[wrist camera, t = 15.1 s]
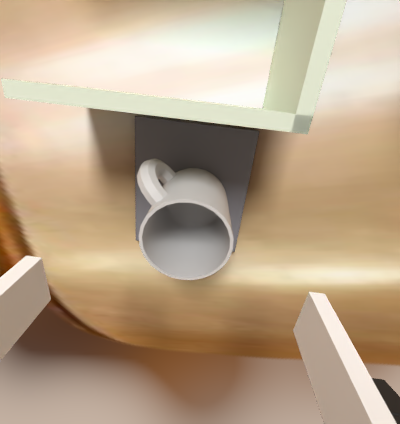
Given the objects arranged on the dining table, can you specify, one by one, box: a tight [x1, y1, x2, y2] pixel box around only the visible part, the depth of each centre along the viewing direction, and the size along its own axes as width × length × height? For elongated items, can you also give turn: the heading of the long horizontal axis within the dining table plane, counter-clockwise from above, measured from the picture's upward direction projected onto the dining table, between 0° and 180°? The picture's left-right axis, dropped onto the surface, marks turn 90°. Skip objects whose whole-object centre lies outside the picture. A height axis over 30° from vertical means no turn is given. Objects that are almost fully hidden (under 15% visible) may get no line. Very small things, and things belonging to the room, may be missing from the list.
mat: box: [135, 116, 259, 252], centre depth 26 cm, size 14×12×1 cm
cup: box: [137, 159, 234, 280], centre depth 22 cm, size 7×10×9 cm
